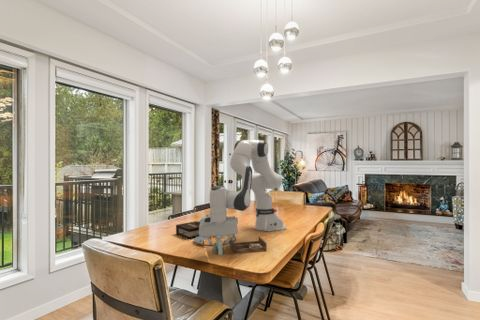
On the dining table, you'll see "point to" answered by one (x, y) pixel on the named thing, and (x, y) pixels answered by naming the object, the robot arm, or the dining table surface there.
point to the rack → (244, 246)
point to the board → (219, 245)
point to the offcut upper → (255, 245)
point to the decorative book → (188, 229)
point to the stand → (216, 249)
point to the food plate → (199, 239)
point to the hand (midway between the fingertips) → (218, 244)
